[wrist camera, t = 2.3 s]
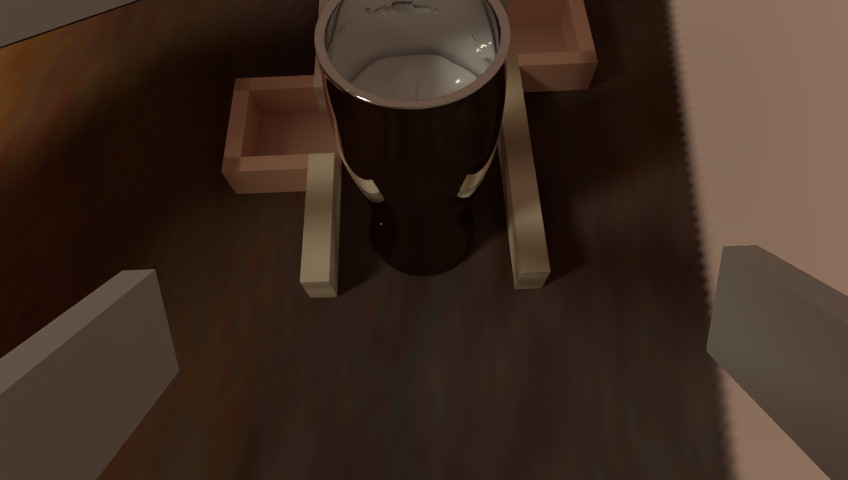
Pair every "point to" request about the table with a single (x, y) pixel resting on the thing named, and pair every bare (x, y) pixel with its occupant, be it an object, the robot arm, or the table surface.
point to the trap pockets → (310, 127)
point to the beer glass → (416, 116)
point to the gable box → (46, 15)
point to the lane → (517, 191)
